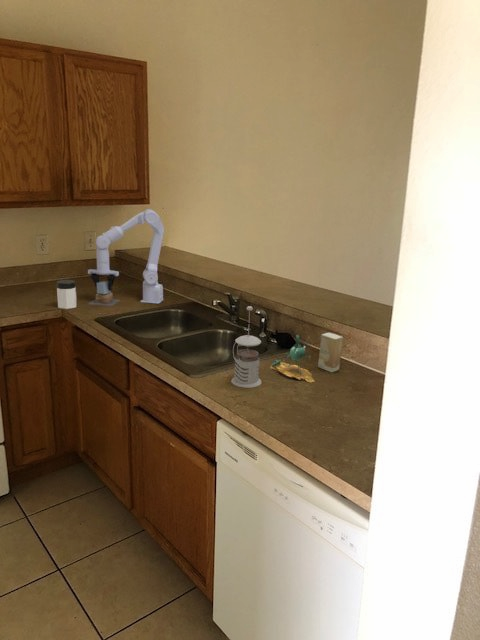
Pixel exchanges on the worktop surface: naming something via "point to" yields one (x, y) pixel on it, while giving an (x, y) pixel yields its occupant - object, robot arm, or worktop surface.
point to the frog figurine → (294, 370)
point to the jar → (66, 294)
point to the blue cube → (103, 287)
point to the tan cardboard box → (104, 301)
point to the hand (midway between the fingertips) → (104, 289)
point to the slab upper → (104, 296)
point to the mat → (104, 304)
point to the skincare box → (330, 352)
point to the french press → (246, 361)
